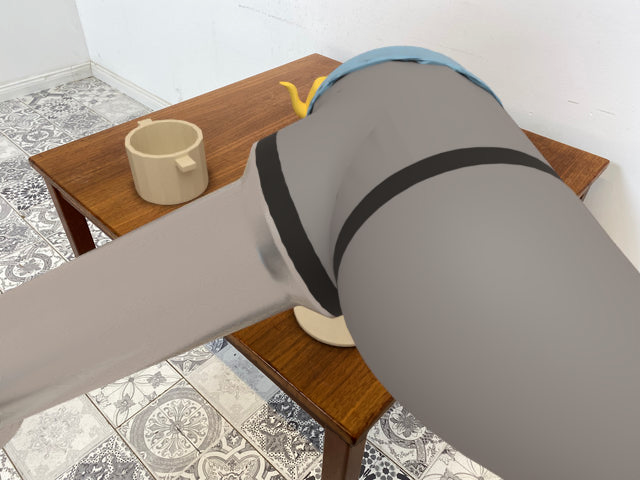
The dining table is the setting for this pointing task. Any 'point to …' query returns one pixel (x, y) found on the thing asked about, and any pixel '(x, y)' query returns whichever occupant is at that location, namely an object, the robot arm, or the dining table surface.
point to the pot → (167, 161)
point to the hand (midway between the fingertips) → (411, 293)
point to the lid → (324, 327)
